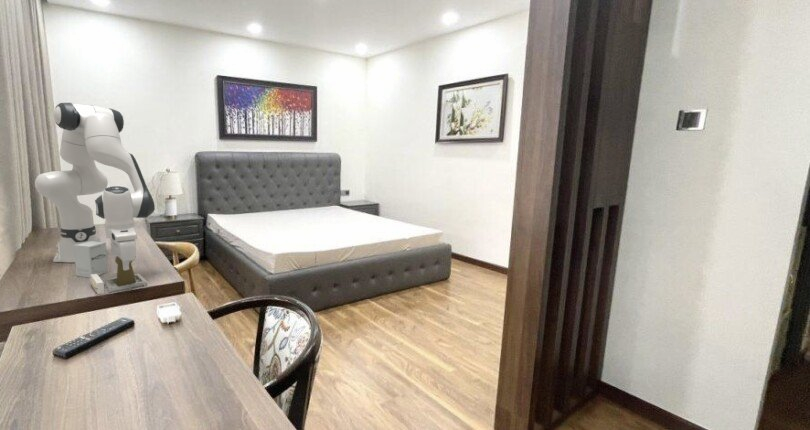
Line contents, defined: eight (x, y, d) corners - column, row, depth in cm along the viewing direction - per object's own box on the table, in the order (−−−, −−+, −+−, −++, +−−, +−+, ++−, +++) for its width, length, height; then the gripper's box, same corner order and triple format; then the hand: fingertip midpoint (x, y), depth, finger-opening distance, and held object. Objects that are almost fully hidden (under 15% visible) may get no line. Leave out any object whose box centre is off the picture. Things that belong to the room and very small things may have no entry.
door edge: (90, 285, 145) (88, 274, 145) (97, 283, 147) (96, 273, 146) (96, 294, 137) (95, 283, 136) (104, 293, 139) (103, 282, 138)
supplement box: (91, 278, 153) (88, 246, 150) (76, 276, 154) (72, 244, 152) (109, 272, 160) (106, 242, 157) (94, 270, 161) (91, 240, 159)
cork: (113, 286, 144) (110, 257, 142) (119, 281, 149) (117, 253, 147) (132, 285, 146) (130, 256, 144) (138, 280, 151) (136, 252, 149)
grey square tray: (102, 284, 147) (102, 279, 147) (139, 277, 155) (138, 273, 155) (109, 292, 139) (109, 288, 139) (147, 285, 147) (146, 281, 147)
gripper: (104, 227, 148) (107, 263, 151) (116, 237, 135) (120, 276, 137) (124, 225, 153) (127, 260, 155) (138, 235, 139) (141, 272, 142)
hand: (124, 267), depth 146 cm, fingers open, 4 cm apart
